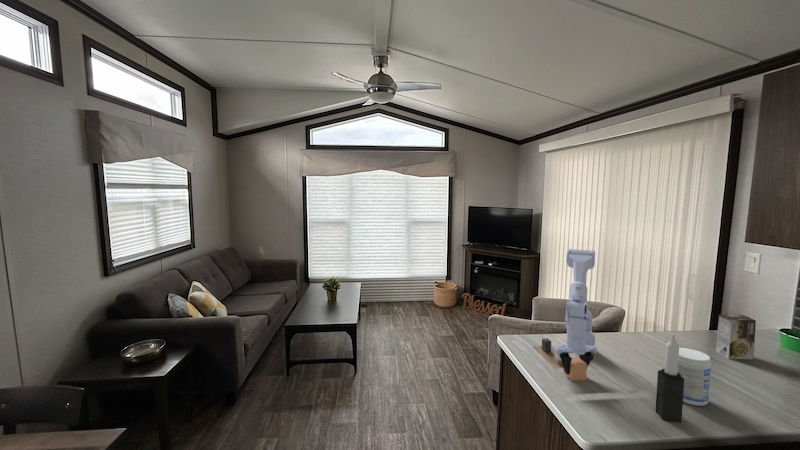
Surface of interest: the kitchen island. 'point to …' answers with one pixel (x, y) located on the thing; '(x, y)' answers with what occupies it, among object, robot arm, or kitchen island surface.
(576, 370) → the peach cube
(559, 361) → the steel post
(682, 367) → the supplement tub
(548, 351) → the stand
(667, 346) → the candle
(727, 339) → the printed cardboard box
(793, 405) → the kitchen island surface
